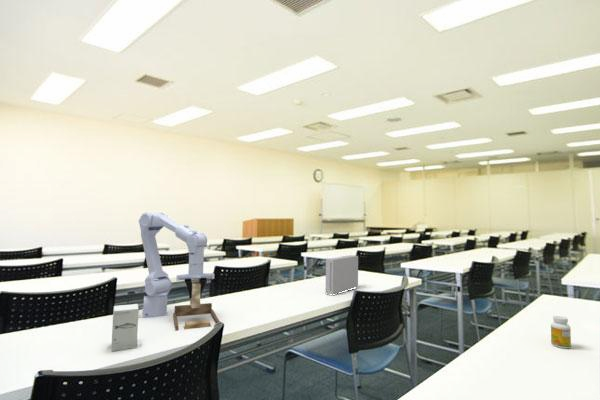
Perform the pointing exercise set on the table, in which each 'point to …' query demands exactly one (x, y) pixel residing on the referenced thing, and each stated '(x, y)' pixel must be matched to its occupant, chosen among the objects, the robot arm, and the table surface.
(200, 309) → the walnut rack
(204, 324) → the upper oak offcut
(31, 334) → the table surface
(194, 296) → the light wood block
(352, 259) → the game console
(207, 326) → the lower oak offcut
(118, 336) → the supplement box
